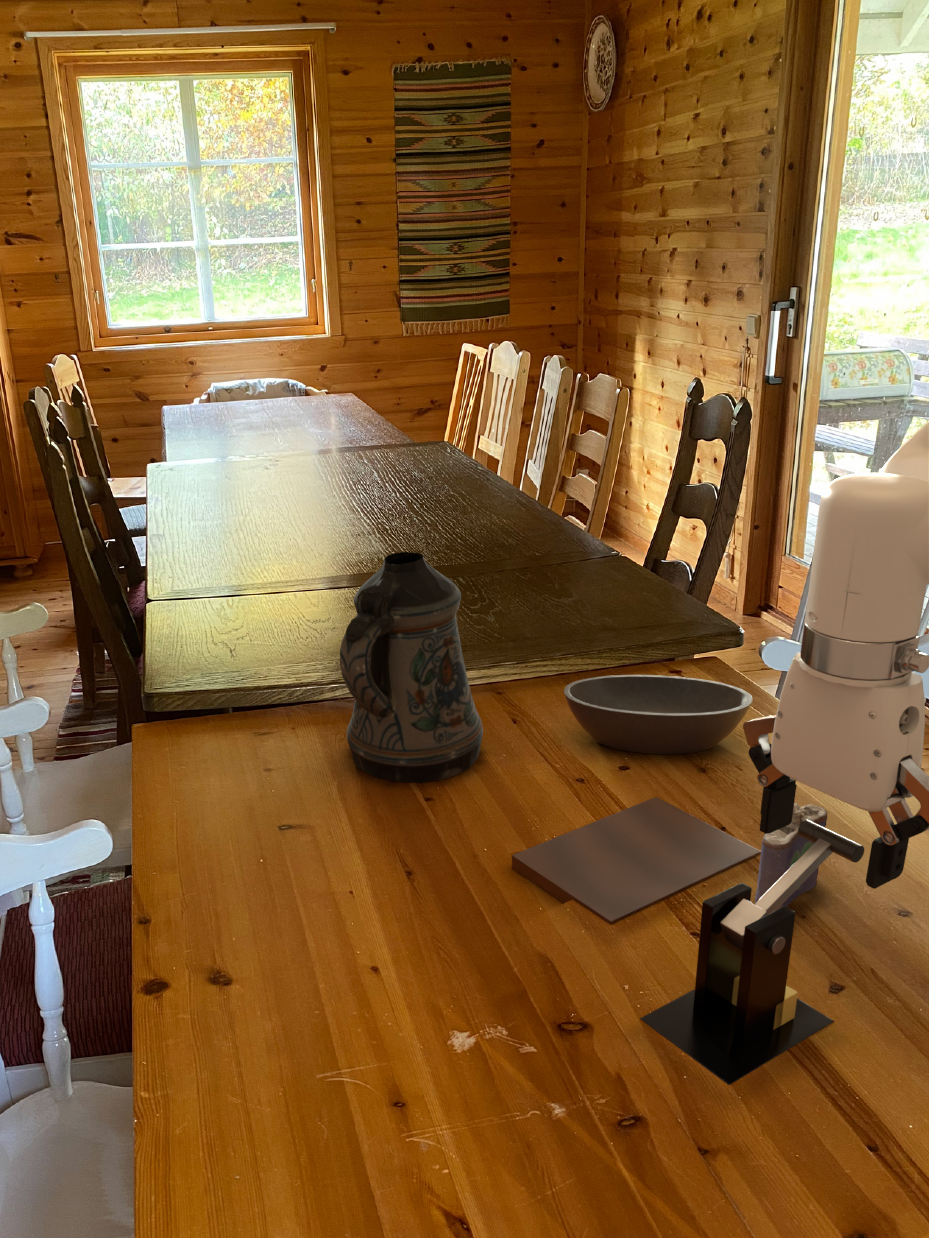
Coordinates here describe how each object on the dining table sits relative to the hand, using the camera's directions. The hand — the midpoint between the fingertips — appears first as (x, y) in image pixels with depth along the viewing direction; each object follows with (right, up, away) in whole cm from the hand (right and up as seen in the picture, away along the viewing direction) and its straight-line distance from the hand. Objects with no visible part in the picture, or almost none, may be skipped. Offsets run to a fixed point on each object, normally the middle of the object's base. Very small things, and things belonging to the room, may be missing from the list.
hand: (826, 853), depth 86 cm
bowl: (-1, +7, +49) cm, 49 cm away
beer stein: (-30, +5, +47) cm, 57 cm away
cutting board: (-9, -5, +23) cm, 26 cm away
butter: (-5, -13, +2) cm, 14 cm away
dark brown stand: (-7, -14, +1) cm, 16 cm away
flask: (+3, -7, +16) cm, 18 cm away
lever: (-3, -3, -1) cm, 5 cm away
